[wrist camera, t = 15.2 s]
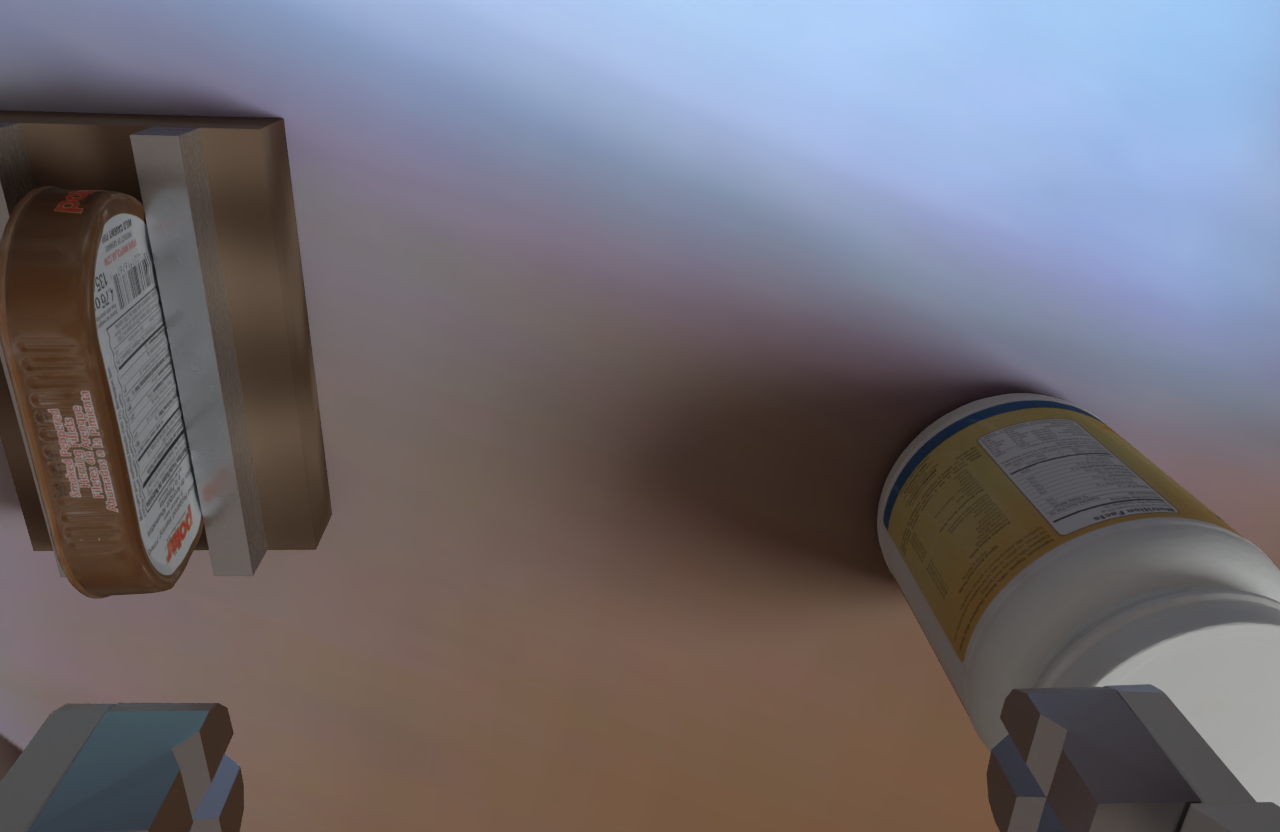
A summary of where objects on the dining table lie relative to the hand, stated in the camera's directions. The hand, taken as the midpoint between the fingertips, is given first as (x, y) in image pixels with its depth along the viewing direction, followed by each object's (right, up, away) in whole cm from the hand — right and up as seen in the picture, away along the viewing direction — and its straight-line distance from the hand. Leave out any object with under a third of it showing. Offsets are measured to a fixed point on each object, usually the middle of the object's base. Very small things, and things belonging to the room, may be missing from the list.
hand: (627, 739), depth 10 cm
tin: (-19, +6, +27) cm, 34 cm away
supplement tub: (+17, 0, +36) cm, 40 cm away
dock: (-20, +7, +30) cm, 37 cm away
